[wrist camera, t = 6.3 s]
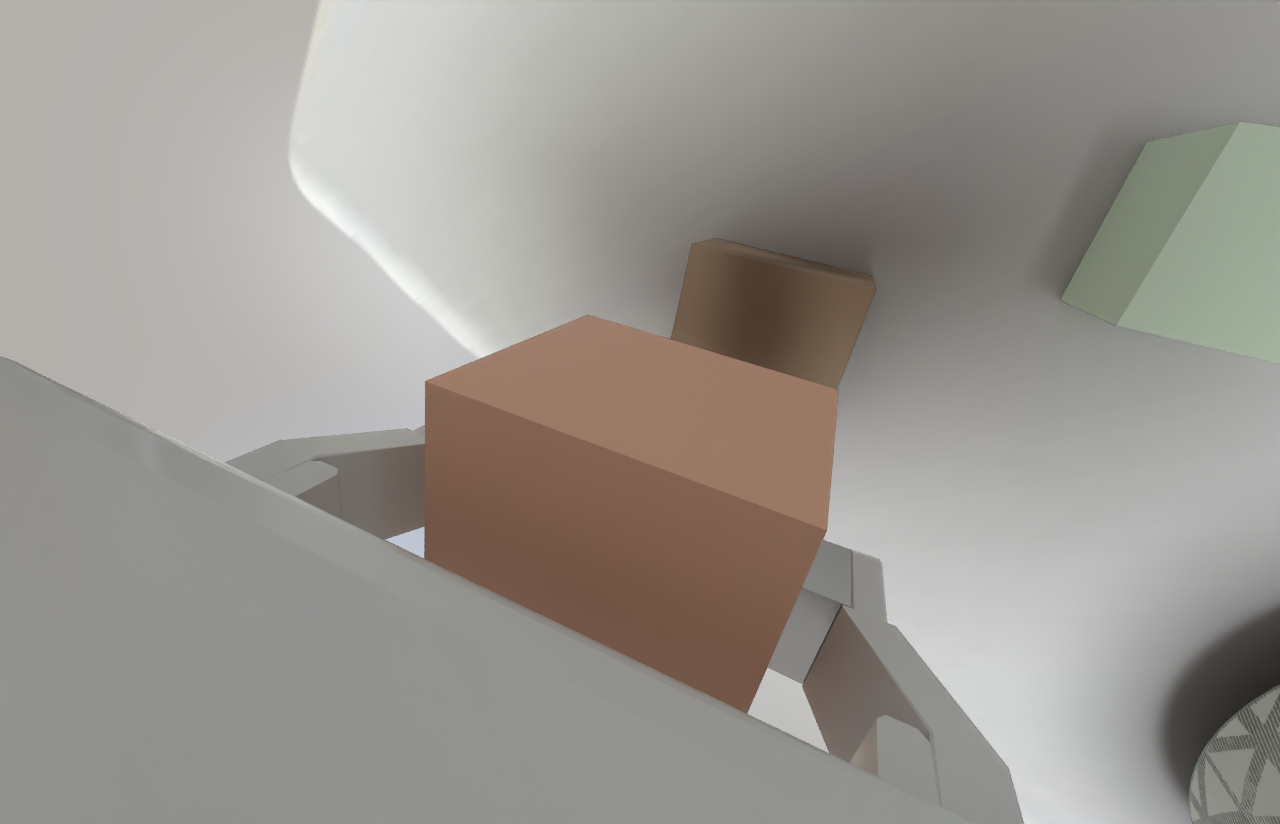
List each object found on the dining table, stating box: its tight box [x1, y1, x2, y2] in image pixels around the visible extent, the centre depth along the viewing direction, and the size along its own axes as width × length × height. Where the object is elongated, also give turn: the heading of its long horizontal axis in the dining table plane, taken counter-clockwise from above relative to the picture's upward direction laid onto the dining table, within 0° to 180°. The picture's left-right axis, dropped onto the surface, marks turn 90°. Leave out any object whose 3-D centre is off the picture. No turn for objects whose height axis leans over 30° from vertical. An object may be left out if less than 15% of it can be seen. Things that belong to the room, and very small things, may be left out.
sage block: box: [1060, 122, 1280, 364], centre depth 16 cm, size 6×6×5 cm
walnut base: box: [671, 238, 876, 389], centre depth 23 cm, size 7×7×4 cm
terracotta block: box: [424, 315, 839, 714], centre depth 10 cm, size 6×6×5 cm
